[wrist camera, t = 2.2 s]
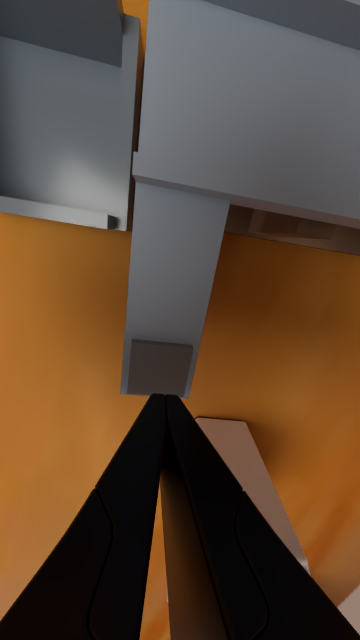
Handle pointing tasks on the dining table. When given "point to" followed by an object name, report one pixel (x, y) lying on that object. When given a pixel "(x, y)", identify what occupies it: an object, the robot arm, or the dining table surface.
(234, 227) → the catapult base
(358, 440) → the dining table surface
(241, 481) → the jar
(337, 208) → the lever
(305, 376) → the dining table surface
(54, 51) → the grey open box
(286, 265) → the dining table surface
